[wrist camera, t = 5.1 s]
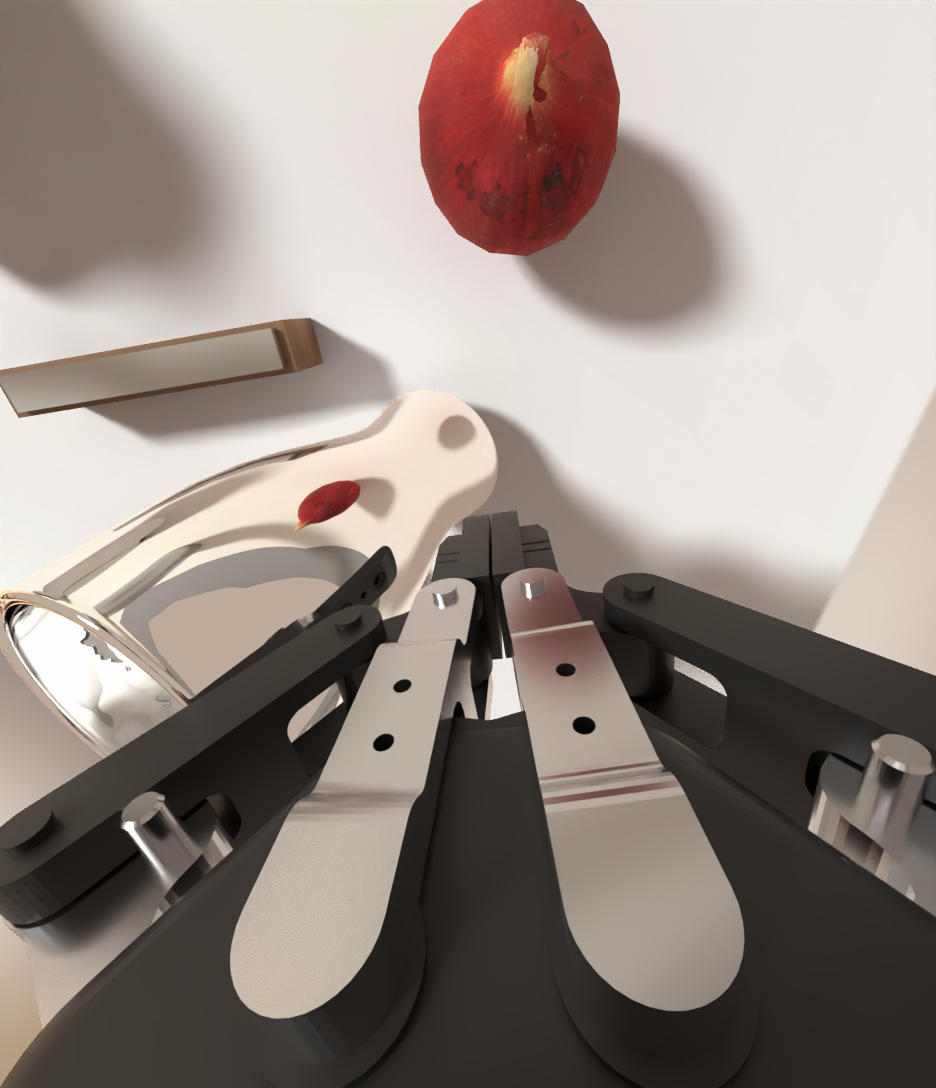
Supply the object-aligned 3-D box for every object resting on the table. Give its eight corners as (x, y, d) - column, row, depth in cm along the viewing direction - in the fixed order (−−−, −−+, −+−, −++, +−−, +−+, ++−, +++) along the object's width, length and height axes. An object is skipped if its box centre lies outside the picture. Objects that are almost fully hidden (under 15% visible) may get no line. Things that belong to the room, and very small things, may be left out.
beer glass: (533, 420, 18) (267, 726, 7) (479, 547, 23) (259, 869, 11) (383, 350, 19) (-84, 512, 8) (359, 485, 24) (35, 722, 12)
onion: (608, 224, 18) (690, 167, 11) (468, 289, 19) (458, 278, 12) (563, 28, 15) (630, -217, 8) (407, 117, 16) (346, -28, 9)
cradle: (55, 363, 21) (-16, 372, 18) (310, 318, 19) (279, 319, 17) (177, 596, 26) (138, 632, 23) (380, 572, 25) (366, 607, 22)
